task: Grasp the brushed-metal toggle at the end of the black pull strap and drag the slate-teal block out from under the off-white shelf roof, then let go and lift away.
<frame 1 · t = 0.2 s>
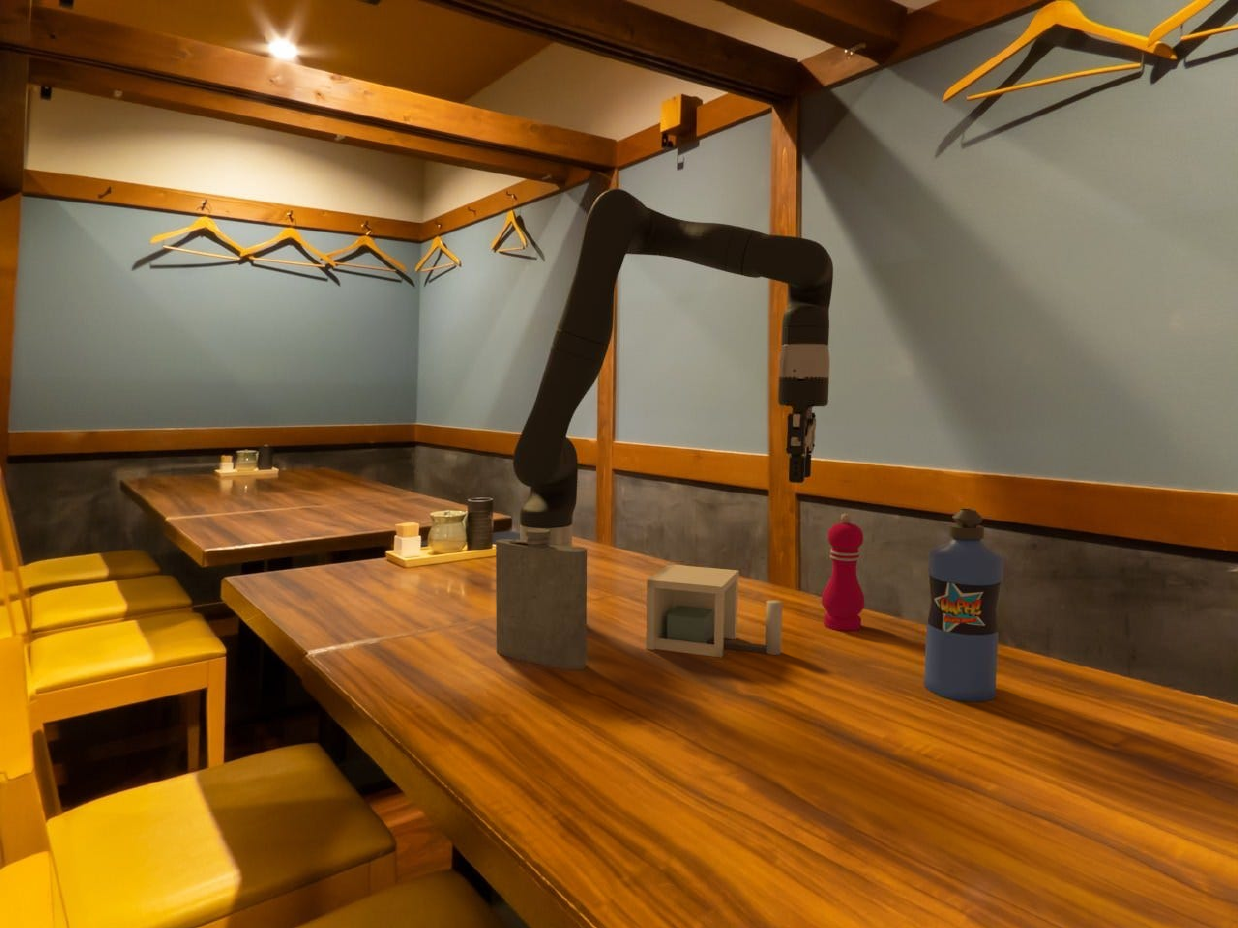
hand: (800, 479, 120), 27 cm above the table, fingers open, 8 cm apart
water bottle: (959, 690, 106), on the table
pepper mill: (842, 627, 135), on the table
shelf: (692, 642, 125), on the table
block: (690, 642, 125), on the table
hip flask: (538, 660, 116), on the table
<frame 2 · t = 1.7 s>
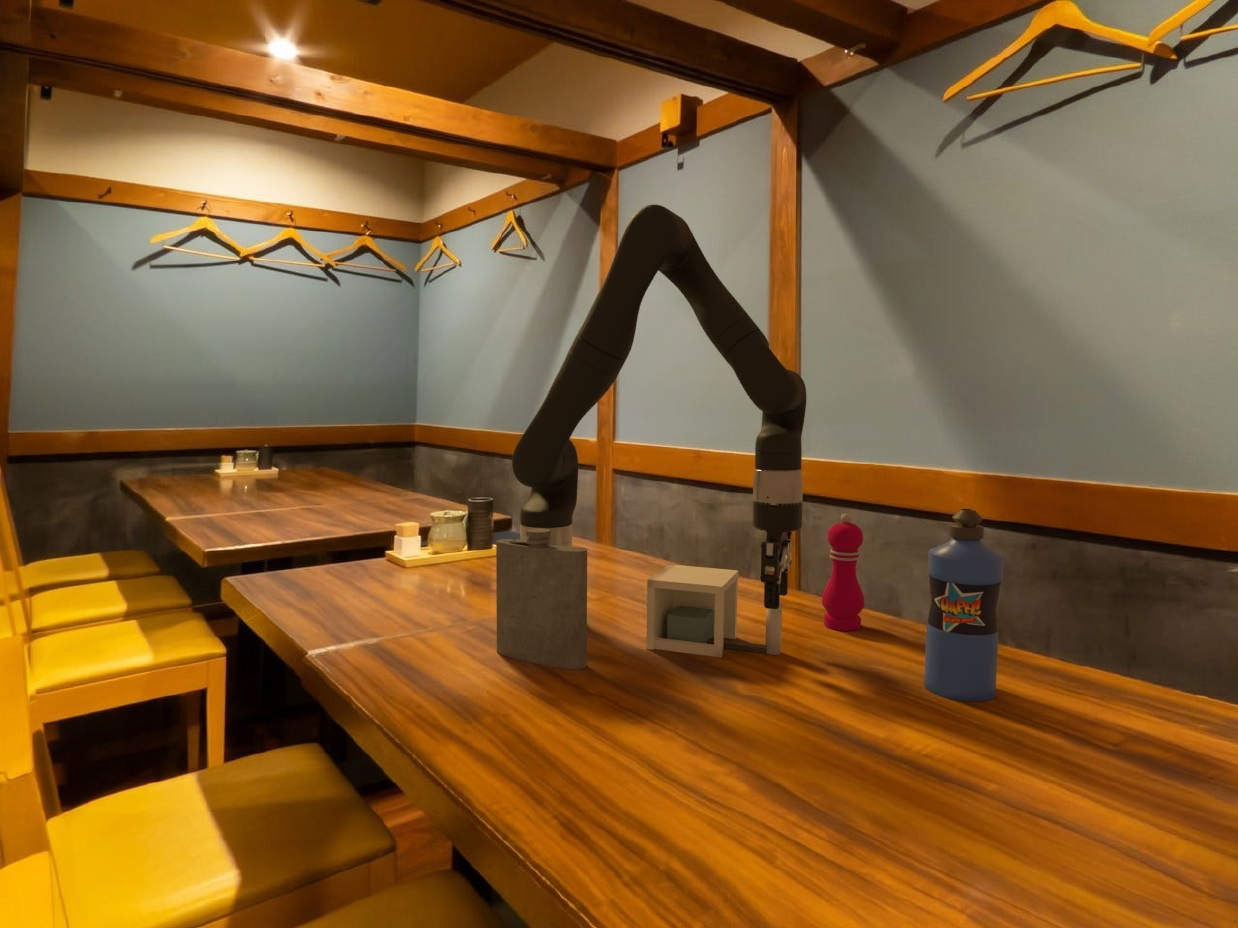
hand: (776, 601, 120), 8 cm above the table, fingers open, 8 cm apart
nothing on the table moved.
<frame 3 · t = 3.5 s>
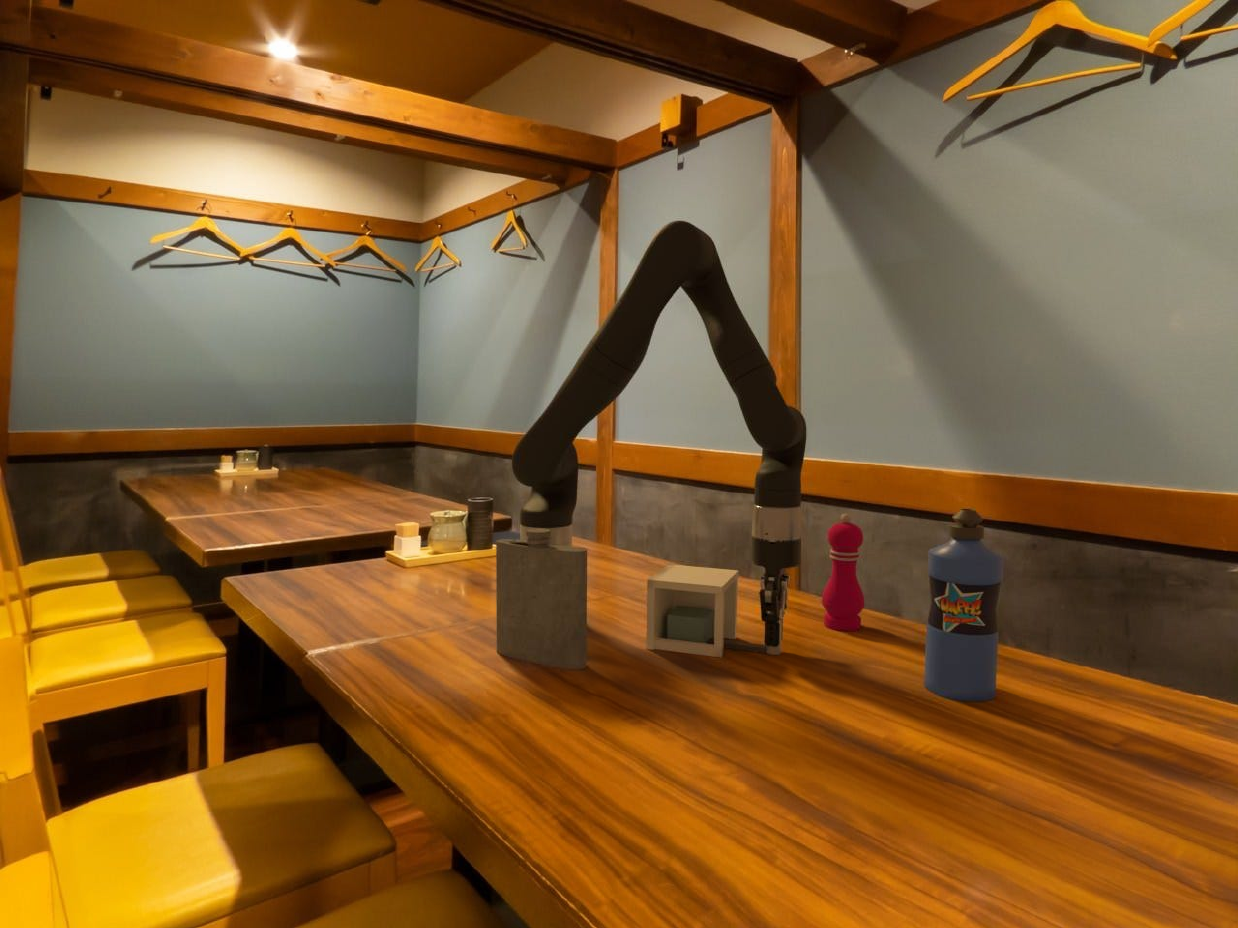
hand: (773, 642, 120), 2 cm above the table, fingers closed on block, 2 cm apart
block: (690, 642, 125), on the table, touching gripper
everything else where it was.
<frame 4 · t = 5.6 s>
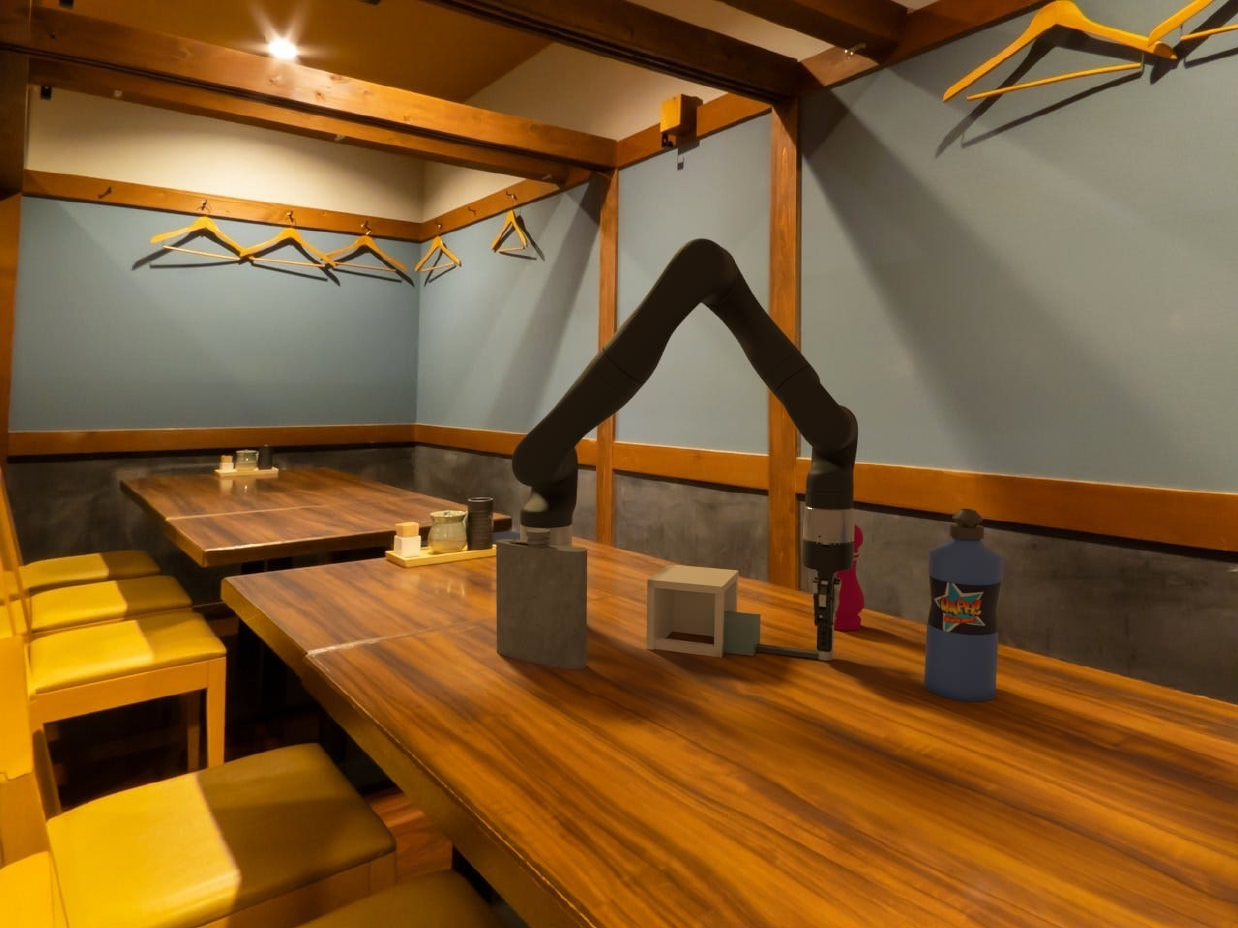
hand: (825, 647, 118), 2 cm above the table, fingers closed on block, 2 cm apart
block: (737, 647, 122), on the table, touching gripper
everything else where it was.
when the fingers open (2 cm above the table, at t = 7.8 s): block stays where it is, on the table.
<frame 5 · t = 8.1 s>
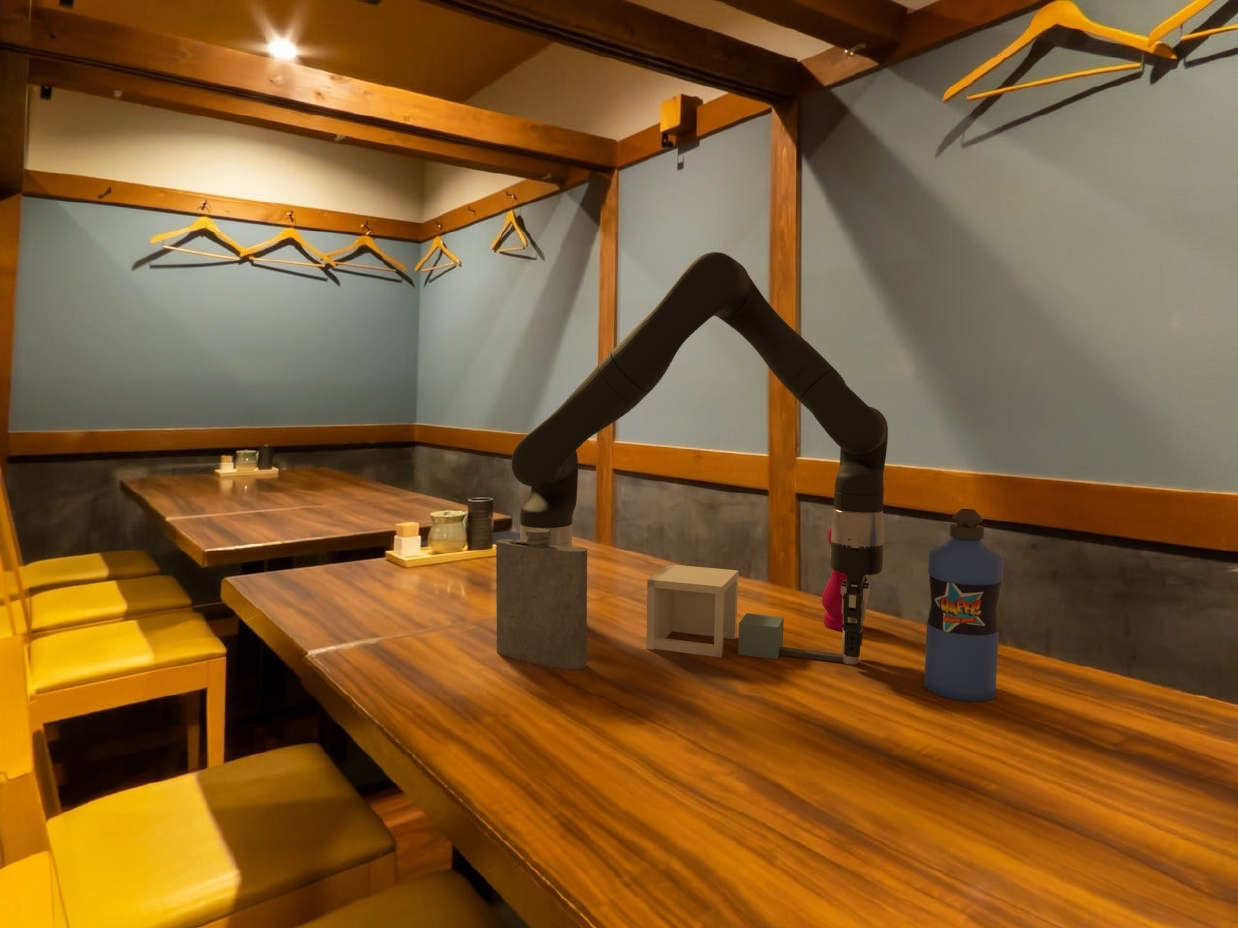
hand: (853, 650, 116), 2 cm above the table, fingers open, 4 cm apart
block: (760, 650, 121), on the table
everything else where it was.
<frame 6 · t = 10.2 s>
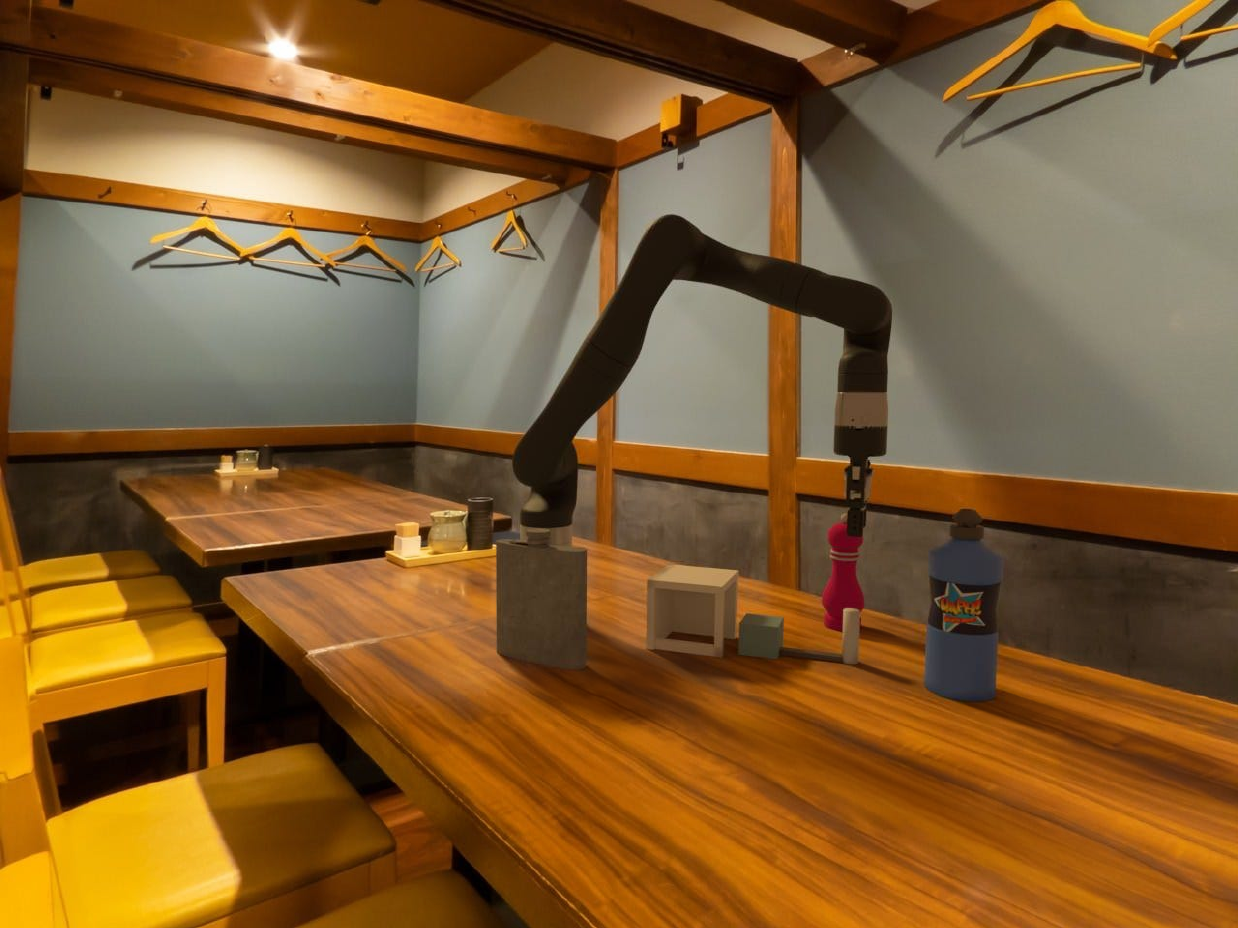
hand: (856, 531, 115), 20 cm above the table, fingers open, 8 cm apart
nothing on the table moved.
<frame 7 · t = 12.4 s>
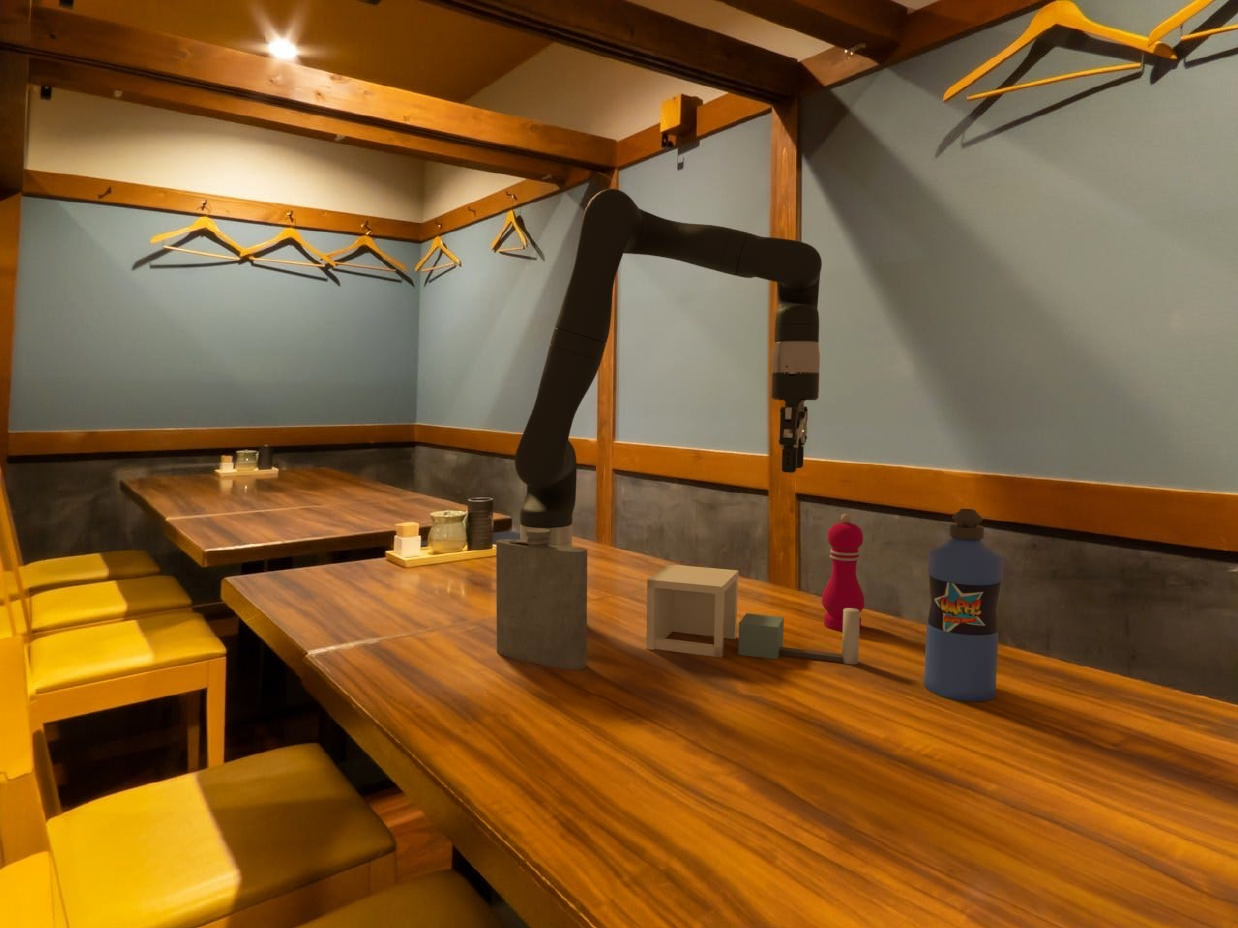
hand: (792, 470, 126), 28 cm above the table, fingers open, 8 cm apart
nothing on the table moved.
at the end: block inside the target area (2.1 cm from its centre), on the table; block tilted 0°; the gripper is holding nothing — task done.
